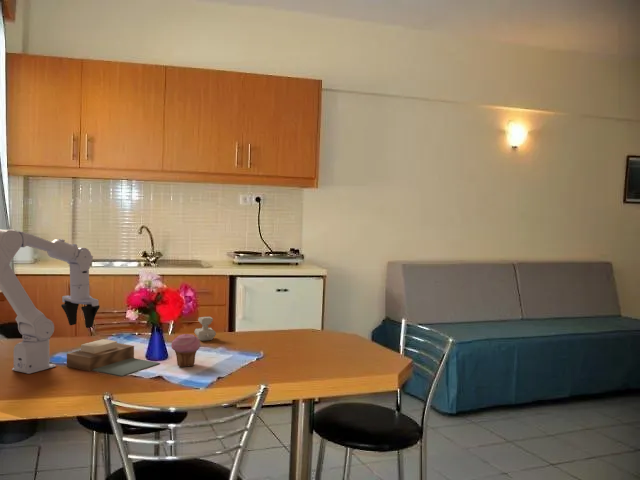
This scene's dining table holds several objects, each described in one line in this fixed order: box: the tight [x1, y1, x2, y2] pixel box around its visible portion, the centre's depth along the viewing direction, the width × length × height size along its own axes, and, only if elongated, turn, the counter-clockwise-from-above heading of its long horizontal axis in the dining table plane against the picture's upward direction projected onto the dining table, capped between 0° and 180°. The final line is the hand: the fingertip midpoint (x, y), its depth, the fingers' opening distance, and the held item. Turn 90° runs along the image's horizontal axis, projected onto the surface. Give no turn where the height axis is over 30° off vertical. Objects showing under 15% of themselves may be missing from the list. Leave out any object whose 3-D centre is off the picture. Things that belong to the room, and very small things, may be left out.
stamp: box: [194, 316, 217, 342], centre depth 222 cm, size 9×7×8 cm
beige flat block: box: [80, 338, 118, 353], centre depth 189 cm, size 9×6×2 cm, turn 153°
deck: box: [66, 342, 135, 372], centre depth 189 cm, size 18×10×4 cm, turn 153°
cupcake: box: [171, 333, 201, 368], centre depth 187 cm, size 9×9×10 cm
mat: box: [92, 357, 161, 377], centre depth 184 cm, size 16×12×1 cm
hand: (80, 326), depth 193 cm, fingers open, 7 cm apart
